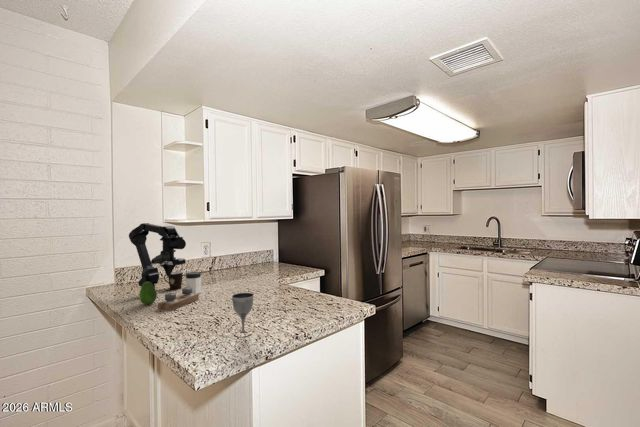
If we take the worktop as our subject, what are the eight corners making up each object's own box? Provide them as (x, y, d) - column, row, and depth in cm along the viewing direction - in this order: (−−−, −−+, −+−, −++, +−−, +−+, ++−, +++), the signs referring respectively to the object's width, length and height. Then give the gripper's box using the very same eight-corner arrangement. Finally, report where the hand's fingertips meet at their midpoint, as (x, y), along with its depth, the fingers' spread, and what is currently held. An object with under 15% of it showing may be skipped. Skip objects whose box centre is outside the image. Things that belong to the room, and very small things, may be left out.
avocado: (136, 305, 157) (136, 282, 157) (150, 301, 164) (150, 279, 164) (145, 307, 154) (145, 283, 154) (160, 303, 160) (160, 280, 160)
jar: (203, 293, 180) (202, 273, 180) (188, 295, 175) (188, 274, 175) (198, 290, 187) (198, 270, 187) (184, 292, 182) (183, 272, 182)
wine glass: (234, 330, 122) (234, 292, 122) (254, 329, 123) (254, 292, 123) (230, 338, 114) (230, 298, 114) (252, 337, 115) (251, 297, 115)
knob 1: (162, 302, 151) (162, 295, 151) (170, 299, 156) (170, 292, 156) (171, 302, 150) (170, 295, 150) (178, 299, 155) (178, 293, 155)
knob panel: (157, 309, 150) (157, 302, 150) (186, 298, 170) (186, 292, 170) (171, 310, 148) (171, 303, 148) (198, 299, 167) (198, 293, 167)
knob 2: (180, 295, 163) (180, 289, 163) (186, 293, 168) (186, 287, 168) (187, 296, 162) (187, 290, 162) (194, 293, 166) (194, 287, 166)
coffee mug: (185, 288, 194) (185, 272, 194) (173, 291, 187) (173, 274, 187) (175, 285, 200) (175, 270, 200) (162, 288, 193) (162, 272, 193)
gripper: (142, 249, 165) (143, 278, 165) (171, 250, 160) (171, 280, 160) (158, 247, 176) (159, 274, 176) (186, 248, 171) (186, 276, 171)
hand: (168, 276), depth 170 cm, fingers closed
